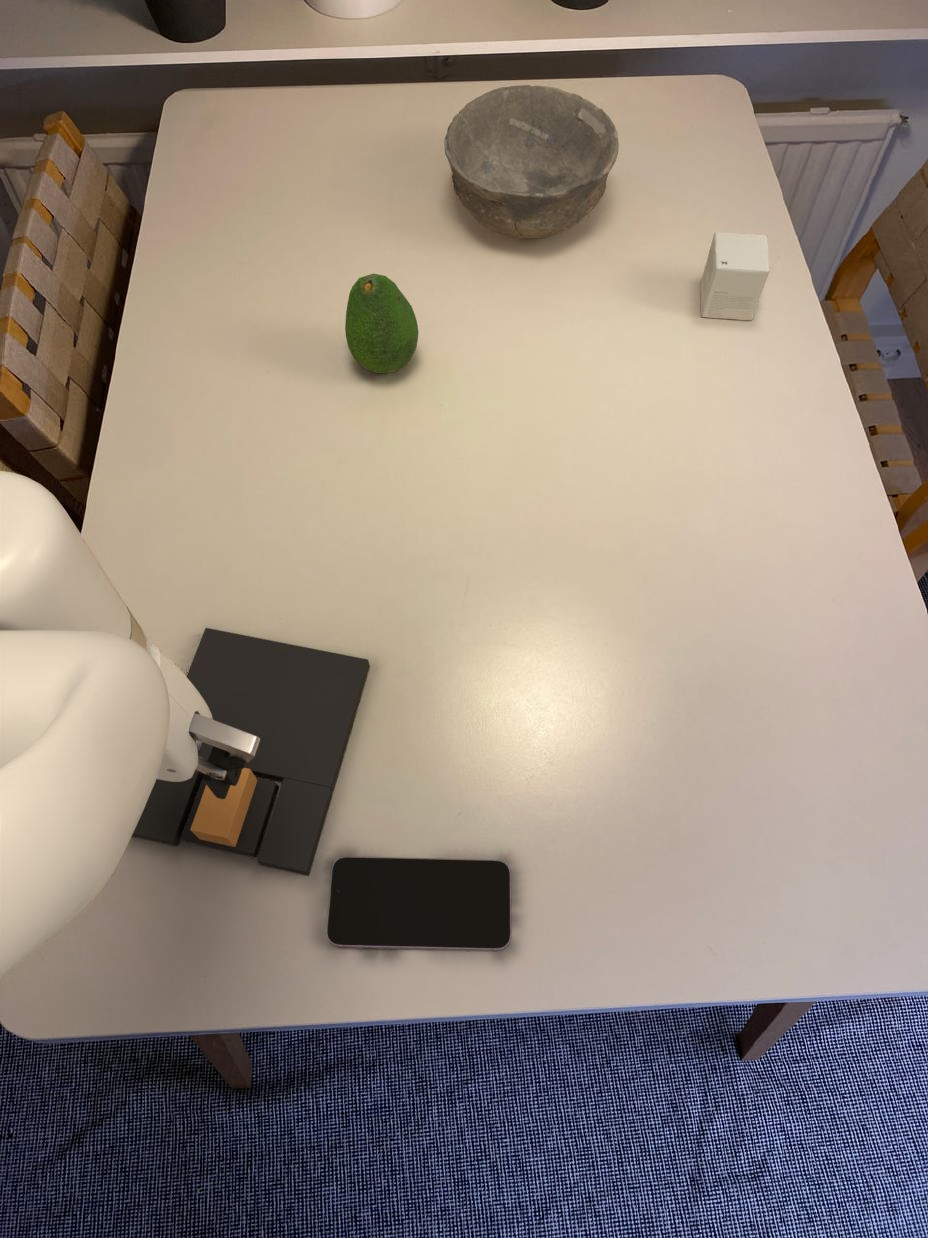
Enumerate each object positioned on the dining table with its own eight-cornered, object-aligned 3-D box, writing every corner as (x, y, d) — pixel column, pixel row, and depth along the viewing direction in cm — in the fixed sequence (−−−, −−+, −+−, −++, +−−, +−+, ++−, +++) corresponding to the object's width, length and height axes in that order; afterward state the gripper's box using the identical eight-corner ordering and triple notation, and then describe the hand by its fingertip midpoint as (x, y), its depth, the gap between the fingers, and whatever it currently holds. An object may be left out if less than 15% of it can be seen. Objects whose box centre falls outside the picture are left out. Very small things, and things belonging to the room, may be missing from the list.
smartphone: (511, 950, 74) (324, 946, 74) (510, 952, 75) (326, 948, 75) (510, 859, 77) (332, 855, 77) (509, 862, 78) (333, 858, 78)
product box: (752, 322, 107) (770, 272, 101) (699, 318, 108) (714, 267, 101) (750, 285, 110) (768, 234, 104) (699, 281, 111) (714, 229, 104)
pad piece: (256, 858, 78) (245, 844, 74) (185, 842, 79) (170, 828, 75) (279, 787, 81) (269, 770, 77) (210, 772, 82) (197, 755, 78)
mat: (309, 876, 78) (306, 872, 76) (130, 836, 79) (125, 831, 78) (370, 666, 87) (368, 659, 85) (209, 634, 88) (205, 627, 87)
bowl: (441, 160, 121) (440, 86, 112) (596, 154, 122) (607, 79, 113) (450, 270, 112) (448, 198, 103) (618, 263, 112) (631, 191, 103)
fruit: (425, 386, 103) (420, 304, 92) (354, 395, 102) (341, 313, 92) (415, 334, 107) (410, 249, 96) (347, 342, 106) (334, 257, 95)
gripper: (-107, 684, 49) (27, 788, 64) (198, 749, 47) (262, 841, 62) (-40, 568, 53) (72, 693, 68) (246, 625, 51) (296, 740, 66)
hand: (163, 764), depth 65 cm, fingers open, 9 cm apart
